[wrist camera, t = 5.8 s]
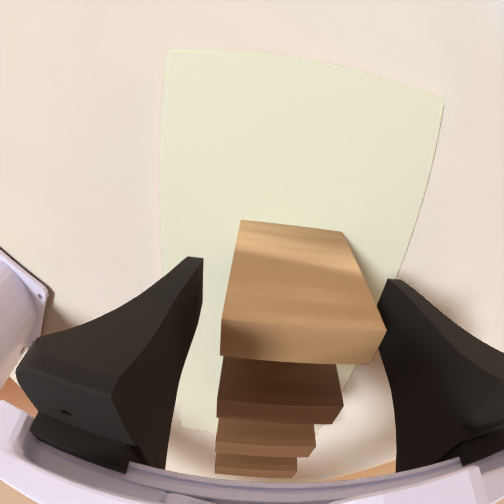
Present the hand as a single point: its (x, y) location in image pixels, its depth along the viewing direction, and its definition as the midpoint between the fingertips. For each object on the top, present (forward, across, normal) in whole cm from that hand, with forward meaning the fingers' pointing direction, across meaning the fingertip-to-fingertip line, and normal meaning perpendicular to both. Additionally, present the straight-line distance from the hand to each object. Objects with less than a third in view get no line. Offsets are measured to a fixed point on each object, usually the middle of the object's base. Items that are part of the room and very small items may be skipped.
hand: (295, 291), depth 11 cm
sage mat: (+4, 0, +6) cm, 8 cm away
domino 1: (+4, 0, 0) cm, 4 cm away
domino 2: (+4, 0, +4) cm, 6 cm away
